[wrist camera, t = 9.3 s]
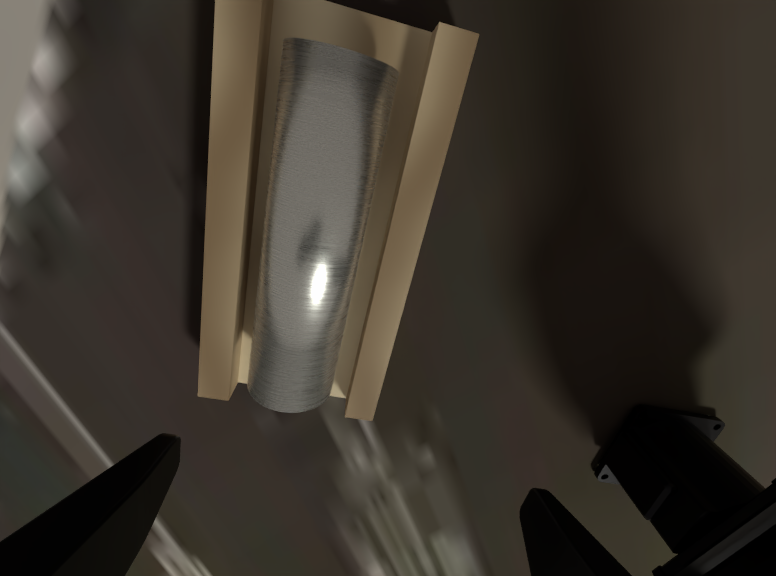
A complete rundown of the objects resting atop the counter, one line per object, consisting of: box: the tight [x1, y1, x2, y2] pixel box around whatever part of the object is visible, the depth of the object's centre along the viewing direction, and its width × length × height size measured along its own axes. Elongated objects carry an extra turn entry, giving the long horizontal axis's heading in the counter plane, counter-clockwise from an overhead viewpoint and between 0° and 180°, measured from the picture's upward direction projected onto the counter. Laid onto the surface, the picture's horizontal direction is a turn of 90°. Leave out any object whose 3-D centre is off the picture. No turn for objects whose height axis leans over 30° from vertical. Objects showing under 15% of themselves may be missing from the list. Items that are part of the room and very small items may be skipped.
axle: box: [247, 37, 399, 413], centre depth 15 cm, size 14×4×4 cm, turn 167°
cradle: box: [198, 0, 479, 421], centre depth 17 cm, size 9×18×2 cm, turn 167°
